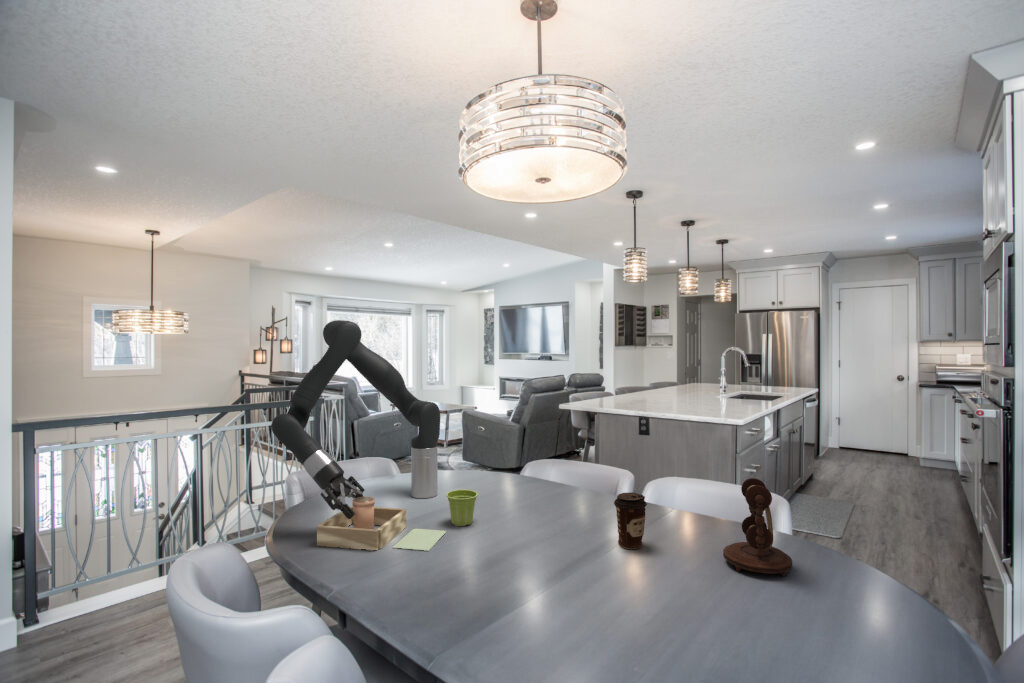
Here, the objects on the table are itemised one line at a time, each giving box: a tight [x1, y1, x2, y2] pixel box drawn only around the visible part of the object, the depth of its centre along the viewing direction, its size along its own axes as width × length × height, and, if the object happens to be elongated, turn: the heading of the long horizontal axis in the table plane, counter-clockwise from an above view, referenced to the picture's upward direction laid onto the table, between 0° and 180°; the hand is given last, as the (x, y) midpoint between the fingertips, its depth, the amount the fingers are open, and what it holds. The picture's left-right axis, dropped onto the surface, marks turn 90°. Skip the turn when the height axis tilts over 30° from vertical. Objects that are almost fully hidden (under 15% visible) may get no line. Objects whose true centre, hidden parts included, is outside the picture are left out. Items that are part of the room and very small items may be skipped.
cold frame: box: [316, 505, 407, 551], centre depth 142 cm, size 18×18×5 cm
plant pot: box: [446, 489, 479, 527], centre depth 152 cm, size 9×9×9 cm
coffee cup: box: [613, 492, 648, 550], centre depth 134 cm, size 9×8×13 cm
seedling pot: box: [351, 496, 376, 529], centre depth 142 cm, size 6×6×10 cm
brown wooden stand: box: [722, 477, 793, 578], centre depth 121 cm, size 15×15×20 cm
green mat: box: [392, 528, 448, 552], centre depth 138 cm, size 14×10×1 cm
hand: (360, 511), depth 142 cm, fingers open, 8 cm apart
